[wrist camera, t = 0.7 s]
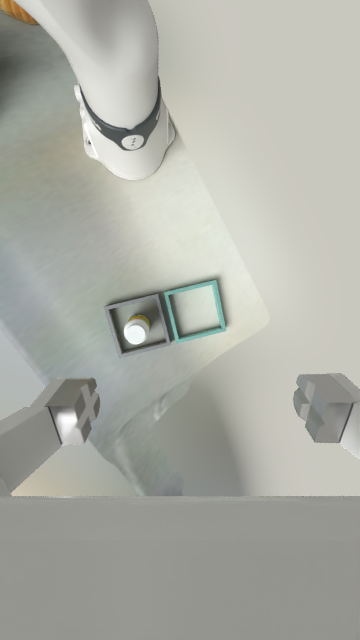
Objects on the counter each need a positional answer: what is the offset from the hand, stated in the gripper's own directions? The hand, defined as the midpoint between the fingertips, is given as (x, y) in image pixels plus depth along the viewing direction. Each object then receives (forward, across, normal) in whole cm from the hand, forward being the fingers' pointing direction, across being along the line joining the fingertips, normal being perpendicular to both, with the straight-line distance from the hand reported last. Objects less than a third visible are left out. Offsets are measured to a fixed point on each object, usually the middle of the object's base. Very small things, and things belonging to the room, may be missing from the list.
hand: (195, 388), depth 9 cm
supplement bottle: (+42, +12, +16) cm, 46 cm away
